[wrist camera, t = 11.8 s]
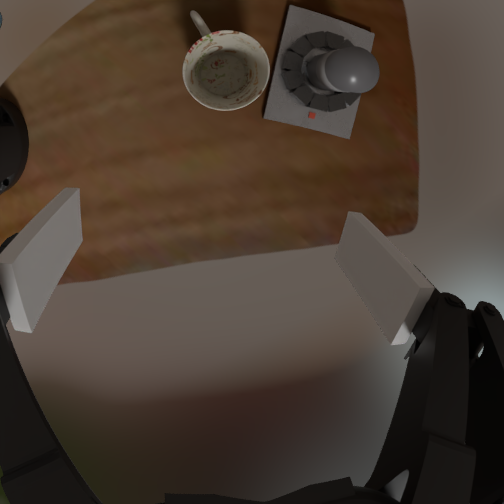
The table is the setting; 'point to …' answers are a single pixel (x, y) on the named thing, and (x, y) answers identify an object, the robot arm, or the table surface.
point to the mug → (225, 68)
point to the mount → (296, 79)
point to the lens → (344, 70)
